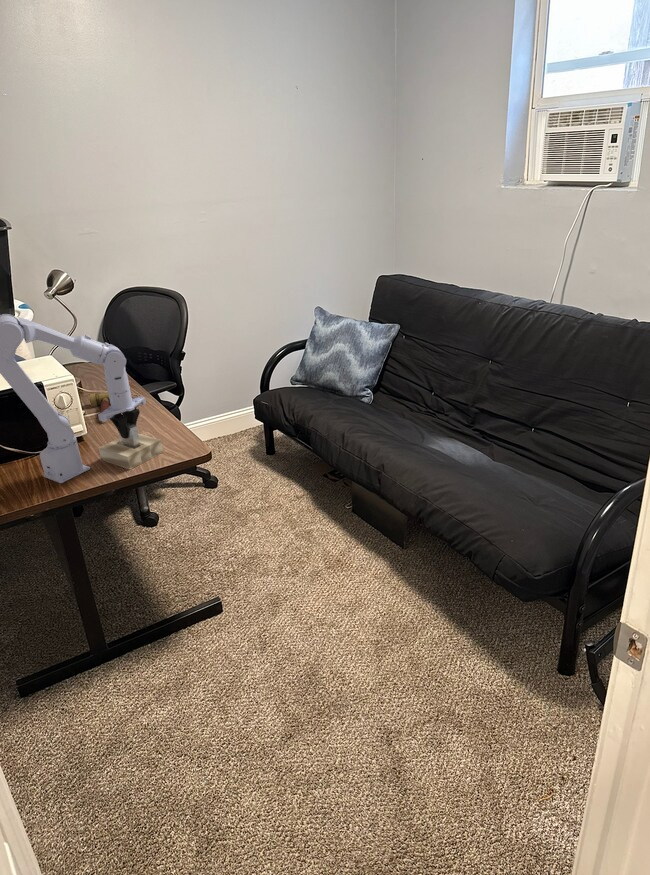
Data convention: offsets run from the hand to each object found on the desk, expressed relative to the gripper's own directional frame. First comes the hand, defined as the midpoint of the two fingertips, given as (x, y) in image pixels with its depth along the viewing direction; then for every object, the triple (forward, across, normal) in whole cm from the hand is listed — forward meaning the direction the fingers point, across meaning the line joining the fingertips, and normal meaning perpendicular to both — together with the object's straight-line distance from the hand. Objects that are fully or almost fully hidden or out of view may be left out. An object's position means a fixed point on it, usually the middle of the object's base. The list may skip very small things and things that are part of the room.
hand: (128, 435), depth 170 cm
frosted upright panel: (+6, 0, 0) cm, 6 cm away
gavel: (+7, +18, +36) cm, 41 cm away
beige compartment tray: (+6, 0, 0) cm, 6 cm away
